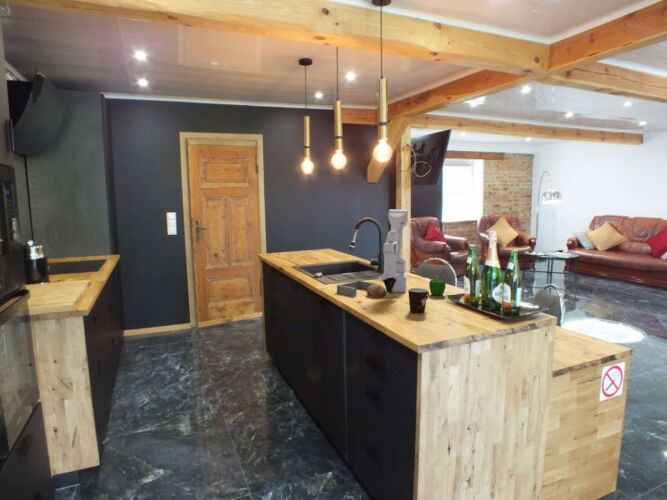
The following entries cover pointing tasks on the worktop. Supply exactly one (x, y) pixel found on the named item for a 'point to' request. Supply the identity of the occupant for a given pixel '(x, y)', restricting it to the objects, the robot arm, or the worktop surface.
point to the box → (352, 287)
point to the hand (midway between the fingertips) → (389, 292)
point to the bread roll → (376, 291)
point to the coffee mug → (417, 299)
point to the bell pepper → (437, 286)
